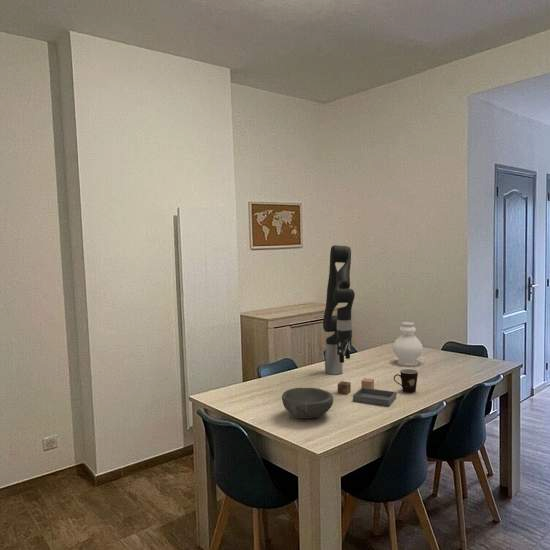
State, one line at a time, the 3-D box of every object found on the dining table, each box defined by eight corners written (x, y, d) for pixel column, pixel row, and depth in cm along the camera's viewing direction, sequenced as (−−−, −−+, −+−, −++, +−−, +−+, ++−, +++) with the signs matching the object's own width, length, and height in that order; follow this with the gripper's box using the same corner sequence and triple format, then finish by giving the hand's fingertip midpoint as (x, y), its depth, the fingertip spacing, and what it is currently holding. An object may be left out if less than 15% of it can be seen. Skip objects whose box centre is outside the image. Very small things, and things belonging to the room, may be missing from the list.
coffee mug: (418, 389, 247) (418, 369, 246) (417, 394, 239) (417, 374, 238) (394, 387, 251) (394, 368, 250) (393, 392, 243) (393, 372, 242)
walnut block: (337, 393, 243) (337, 383, 242) (341, 390, 247) (341, 381, 247) (347, 395, 240) (347, 385, 240) (350, 392, 245) (350, 382, 244)
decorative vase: (401, 368, 287) (401, 326, 285) (387, 360, 304) (387, 321, 302) (428, 365, 291) (428, 324, 289) (413, 358, 308) (413, 319, 307)
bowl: (338, 424, 202) (338, 401, 202) (284, 427, 201) (284, 403, 200) (328, 405, 225) (327, 384, 224) (279, 408, 223) (279, 386, 223)
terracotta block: (361, 390, 247) (361, 380, 247) (364, 387, 252) (364, 378, 251) (371, 391, 245) (370, 381, 244) (374, 388, 249) (373, 379, 249)
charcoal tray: (352, 401, 230) (352, 395, 230) (361, 393, 242) (361, 387, 242) (388, 406, 222) (388, 400, 222) (396, 398, 234) (396, 391, 234)
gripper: (342, 325, 250) (342, 356, 251) (332, 330, 237) (332, 363, 238) (356, 326, 246) (356, 358, 247) (346, 331, 233) (347, 364, 235)
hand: (344, 360), depth 243 cm, fingers open, 8 cm apart
